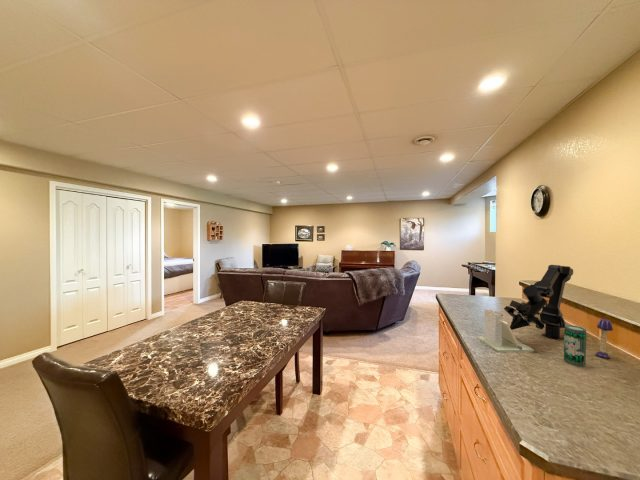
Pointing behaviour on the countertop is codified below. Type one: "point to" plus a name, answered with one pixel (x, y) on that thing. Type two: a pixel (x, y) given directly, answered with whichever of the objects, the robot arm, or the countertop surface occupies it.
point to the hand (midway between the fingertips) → (510, 329)
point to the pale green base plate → (507, 346)
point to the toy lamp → (604, 337)
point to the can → (575, 345)
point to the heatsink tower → (493, 327)
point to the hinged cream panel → (508, 334)
